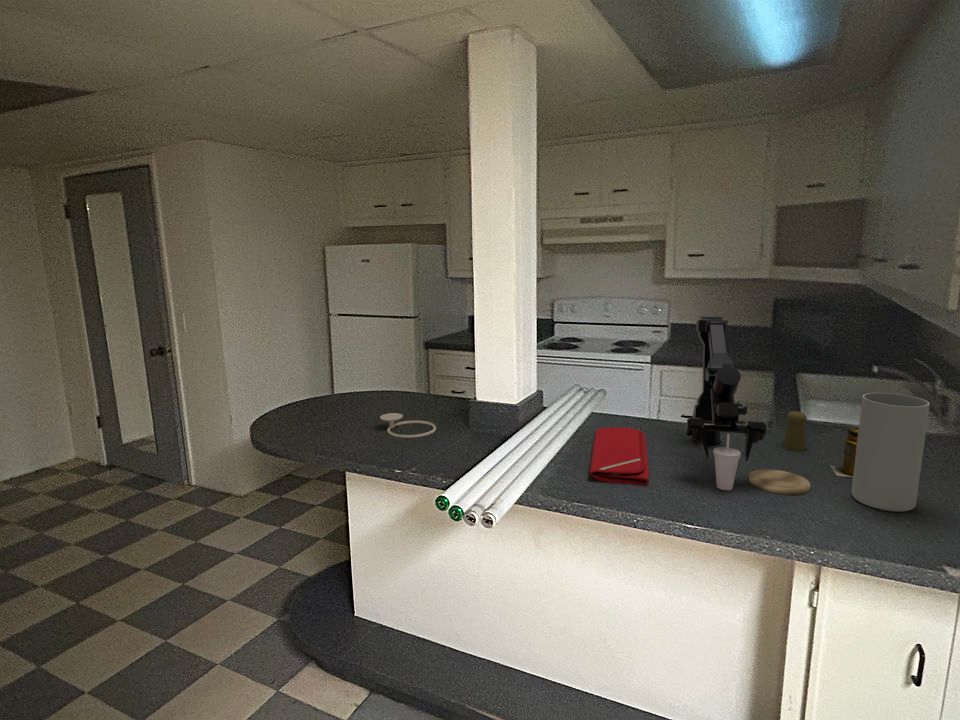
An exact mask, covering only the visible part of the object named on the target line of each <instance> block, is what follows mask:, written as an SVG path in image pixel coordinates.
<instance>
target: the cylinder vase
mask: <svg viewBox="0 0 960 720" xmlns="http://www.w3.org/2000/svg"><path fill="white" fill-rule="evenodd" d="M930 404H931V403H930V401H928V400H926V399H924V398H921V397H916V396H913V395H907V394H901V393H899V394H898V393H891V392H868V393H864V394H863V395H862V397H861V404H860V405H861V407H860V415H859V424H858V425H859V426H858V428H859V431H858V439H857V448H856V457H855V466H854V475H853V477H852V486H851V495H852V497H853V498H854V499H855V500H856V501H857V502H858V503H860V504H863V505H865V506H868V507H871V508H874V509H878V510H881V511H886V512H887V511H888V512H894V513H895V512H896V513H897V512H898V513H903V512H910V511H912V510H913V509H914V508H916V506H917V499H918V492H919V486H920V485H919V484H920V478H921V470H922V464H923V463H922V462H923V455H924V448H925V441H926V434H927V426H928V419H929V418H928V417H929V412H930Z"/></svg>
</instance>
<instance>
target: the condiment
mask: <svg viewBox="0 0 960 720" xmlns="http://www.w3.org/2000/svg"><path fill="white" fill-rule="evenodd" d="M858 431H859V427H852V428H849V429H848V430H847V435H846V436H847V438H845V441H844V451H843V457H842V466H838V465H831V464H830V465H829V466H830V468H831V470H832V472H833V473H834V474H835V475H836V477H843V478H844V477H847V478H853V475H854V466H855V457H856V448H857V439H858Z"/></svg>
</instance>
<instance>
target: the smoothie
mask: <svg viewBox="0 0 960 720" xmlns="http://www.w3.org/2000/svg"><path fill="white" fill-rule="evenodd" d="M730 436H731V435H730V433H727V434H726V445H725V446H717V447H715V448H714V449H713V452H712V454H713V456H714V467H715V479H716V480H715V481H716V488H717V489H719V490H723V491H731V490H732V489H733V487H734V483H735V478H736V475H737V474H736V473H737V470H738V463H739V460H740V458H741V455H742V454H741V453H742V452H741V451H740V450H738V449H736V448H732V447H730Z"/></svg>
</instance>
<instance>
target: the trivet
mask: <svg viewBox="0 0 960 720" xmlns="http://www.w3.org/2000/svg"><path fill="white" fill-rule="evenodd" d="M748 482H749V483H750V484H751V485H752V486H754V487H755V488H756V489H759V490H763V491H764V492H769V493H772V494H776V495H783V496H785V495H786V496H797V495H798V496H799V495H804V494H807V493H809V492H810V489H811V483H810V481H809V480H808V479H806V478H805V477H804V476H801V475H800V474H799V475H798V474H795V473H793V472H789V471H786V470H779V469H757V470H754V471H753V470H752V471H751V472H750V473H749V474H748Z"/></svg>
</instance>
